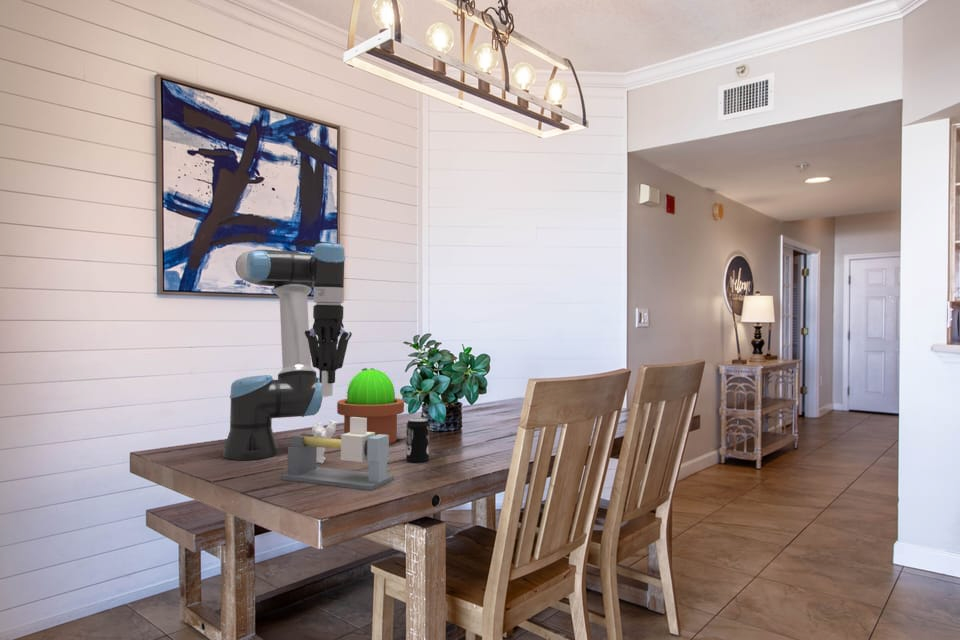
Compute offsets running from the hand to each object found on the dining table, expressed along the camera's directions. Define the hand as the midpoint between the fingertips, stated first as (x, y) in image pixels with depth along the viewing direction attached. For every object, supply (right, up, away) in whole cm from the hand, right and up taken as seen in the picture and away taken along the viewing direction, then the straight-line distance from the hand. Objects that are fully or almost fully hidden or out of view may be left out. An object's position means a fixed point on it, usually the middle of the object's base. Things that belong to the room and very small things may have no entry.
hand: (326, 395), depth 157 cm
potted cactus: (+3, -22, +48) cm, 52 cm away
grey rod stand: (+3, -21, -2) cm, 21 cm away
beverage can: (+21, -22, +20) cm, 36 cm away
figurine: (-6, -21, +19) cm, 29 cm away
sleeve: (+9, -15, -4) cm, 18 cm away
